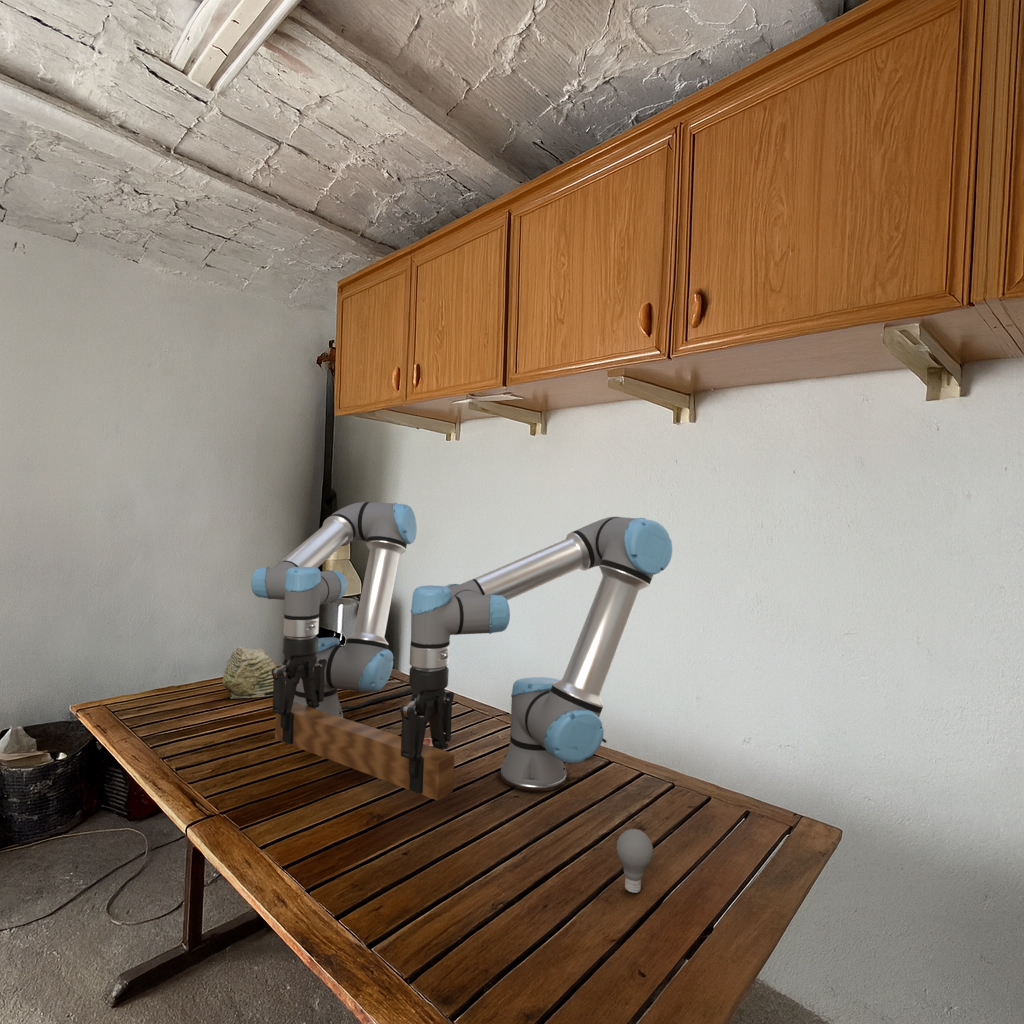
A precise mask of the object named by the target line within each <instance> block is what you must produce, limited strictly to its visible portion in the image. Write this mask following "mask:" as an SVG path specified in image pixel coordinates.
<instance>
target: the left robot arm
mask: <svg viewBox="0 0 1024 1024" xmlns="http://www.w3.org/2000/svg"><path fill="white" fill-rule="evenodd" d="M417 531H418V530H417V520H416V515H415V512H414V510H413V508H412V507H411V506H410V505H408V504H405V503H397V502H375V501H374V502H370V501H360V502H354V503H351V504H349V505H347V506H344V507H342V508H340V509H338V510H336V511H335V512H333V513H332V514H330V515H329V516H328V517H327V518H326V519H324V521H323V523H322V526H321V527H320V528H319V529H317V531H315V532H314V533H313V534H312V535H311V536H310V537H308V538H307V539H305V540H304V541H303V542H302V543H301V544H300V545H298V546H297V547H296V548H295V549H294V550H292V551H291V552H290V553H288V554H287V556H285V557H284V558H283V559H282V560H281V561H279V562H278V563H276V564H275V565H274V566H272V567H270V566H265V567H264V566H263V567H259V568H257V569H256V570H255V571H254V572H253V574H252V576H251V579H250V580H251V581H250V587H251V591H252V593H253V595H254V596H256V597H257V598H261V599H268V600H280V601H284V613H283V614H284V615H283V632H282V634H283V636H285V637H283V638H282V640H283V641H282V653H283V656H284V658H283V661H282V665H280V666H279V667H276V668H277V669H276V668H273V669H272V671H271V672H272V676H273V679H274V680H273V695H272V713H275V714H276V713H278V714H280V715H281V722H280V723H281V724H280V727H281V728H282V729H283V735H282V741H283V742H282V743H284V742H285V743H284V744H287V743H288V744H287V745H289V744H292V743H293V727H294V714H292V713H291V710H292V705H293V702H295V703H298V704H301V705H305V706H308V707H311V708H314V709H317V710H320V711H323V712H326V713H329V714H332V715H336V716H339V717H342V718H344V714H343V710H353V709H354V710H355V709H359V708H362V707H364V706H367V705H369V704H371V703H374V702H379V701H383V700H388V699H390V698H391V699H392V698H395V697H399V696H402V695H405V694H409V693H411V692H413V691H412V689H411V688H409V689H408V688H407V689H406V690H402V691H399V692H396V693H391V694H386V695H383V696H379V697H373V698H371V699H367V700H366V701H364V702H361V703H358V704H353V705H341V702H340V699H339V695H338V690H344V691H345V690H346V691H354V692H359V693H378V692H380V691H381V690H382V689H383V688H384V687H385V685H387V684H388V681H389V679H390V677H391V675H392V671H393V668H394V654H393V652H392V651H391V650H390V649H389V642H388V641H387V639H386V637H385V635H386V632H387V631H386V630H387V626H388V620H389V614H390V609H391V603H392V598H393V593H394V587H395V583H396V577H397V571H398V565H399V561H400V556H401V555H403V554H404V553H405V552H406V551H407V546H408V545H411V544H414V542H415V540H416V537H417ZM357 541H359V542H361V541H363V542H365V545H366V547H367V548H368V550H369V554H368V559H367V564H366V569H365V573H364V579H363V583H362V589H361V593H360V598H359V604H358V609H357V612H356V613H357V614H356V618H355V624H354V627H353V632H352V633H351V634H350V635H348V636H347V637H346V638H345V639H346V640H345V644H343V645H342V644H340V643H341V641H340V639H339V638H338V637H318V636H317V635H318V634H319V633H320V632H319V630H320V606H322V605H327V604H329V603H330V604H331V603H334V602H335V603H336V601H337V600H340V599H342V598H343V597H344V596H345V595H346V593H347V591H348V586H349V585H348V579H347V577H346V576H345V575H344V574H343V573H342V572H340V571H338V570H330V569H329V570H328V569H327V570H325V571H321V570H320V568H319V567H320V566H321V565H323V563H324V562H326V561H327V560H328V559H330V557H331V556H333V554H334V553H335V552H337V551H338V550H339V549H340V548H341V547H345V546H348V545H349V544H350V543H351V542H357ZM285 681H286V684H285Z"/></svg>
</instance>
